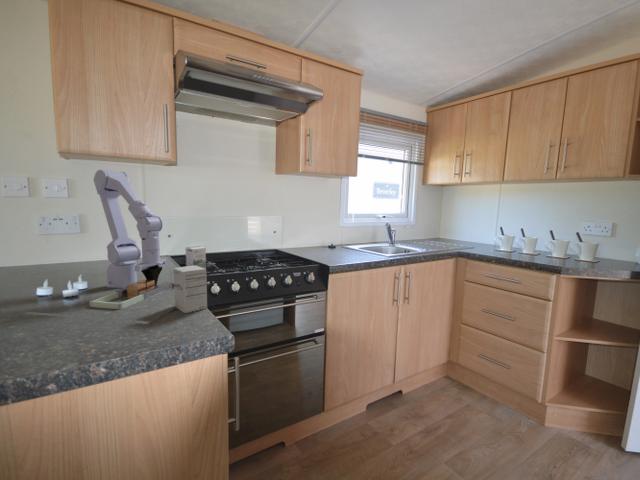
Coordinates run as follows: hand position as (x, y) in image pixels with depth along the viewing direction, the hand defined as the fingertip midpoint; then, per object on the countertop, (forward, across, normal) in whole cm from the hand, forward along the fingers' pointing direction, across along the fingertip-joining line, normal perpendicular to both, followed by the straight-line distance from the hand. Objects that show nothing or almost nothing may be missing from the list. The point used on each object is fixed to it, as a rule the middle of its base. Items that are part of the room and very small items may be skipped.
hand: (152, 286), depth 117 cm
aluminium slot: (+2, -4, 0) cm, 4 cm away
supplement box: (+2, -14, -24) cm, 28 cm away
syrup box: (+2, +16, -8) cm, 18 cm away
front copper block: (+1, -8, 0) cm, 8 cm away
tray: (+2, -16, 0) cm, 16 cm away
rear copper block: (+1, -4, 0) cm, 4 cm away
